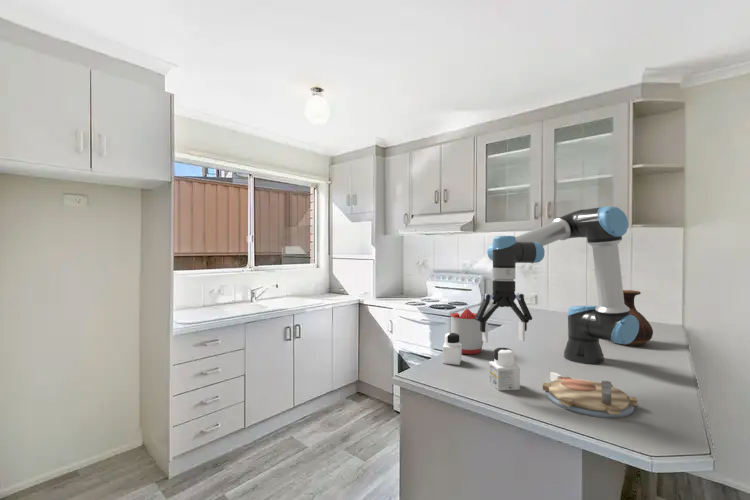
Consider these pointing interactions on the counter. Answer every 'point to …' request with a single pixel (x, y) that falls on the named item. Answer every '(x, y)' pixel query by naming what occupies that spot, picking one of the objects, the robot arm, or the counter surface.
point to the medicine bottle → (452, 349)
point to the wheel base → (581, 410)
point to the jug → (644, 326)
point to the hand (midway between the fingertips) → (503, 340)
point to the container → (504, 370)
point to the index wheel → (589, 395)
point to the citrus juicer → (467, 331)
